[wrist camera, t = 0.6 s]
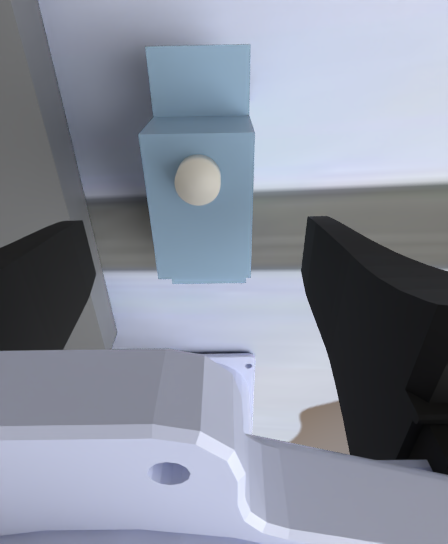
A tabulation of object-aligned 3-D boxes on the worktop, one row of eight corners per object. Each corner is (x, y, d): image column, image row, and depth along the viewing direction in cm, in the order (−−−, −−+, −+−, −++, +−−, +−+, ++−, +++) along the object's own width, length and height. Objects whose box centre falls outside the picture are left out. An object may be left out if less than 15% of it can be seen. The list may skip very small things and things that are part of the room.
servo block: (242, 252, 22) (250, 333, 16) (178, 253, 22) (162, 334, 16) (245, 43, 16) (259, 46, 10) (158, 45, 16) (119, 49, 10)
